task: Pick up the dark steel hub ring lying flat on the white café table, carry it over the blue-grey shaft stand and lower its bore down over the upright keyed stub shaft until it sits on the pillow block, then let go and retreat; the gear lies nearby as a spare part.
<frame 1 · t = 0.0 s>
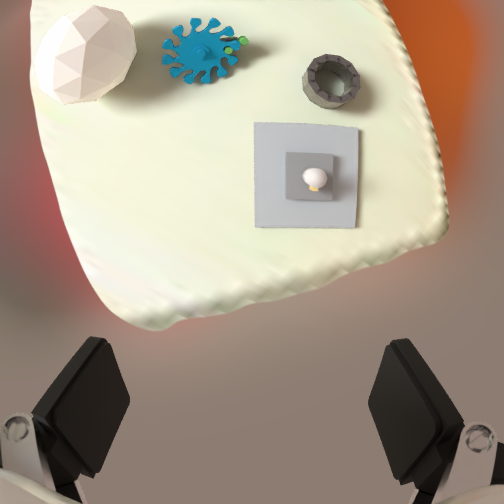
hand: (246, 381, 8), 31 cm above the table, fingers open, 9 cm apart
hub: (326, 85, 32), on the table
geometric sphere: (108, 66, 31), on the table
shaft stand: (306, 175, 36), on the table
gear: (209, 59, 32), on the table
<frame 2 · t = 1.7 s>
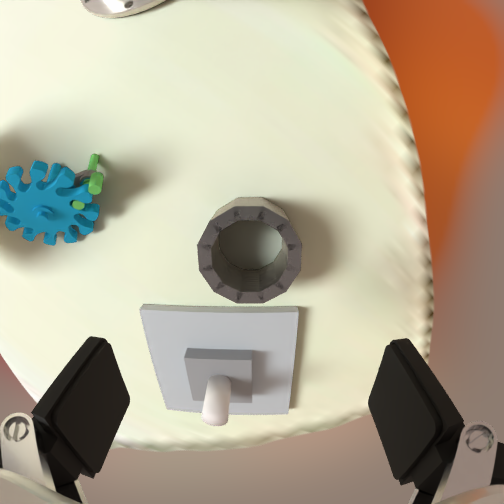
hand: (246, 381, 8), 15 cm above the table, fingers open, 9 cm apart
hub: (250, 240, 22), on the table
shaft stand: (222, 365, 27), on the table
gear: (74, 197, 21), on the table
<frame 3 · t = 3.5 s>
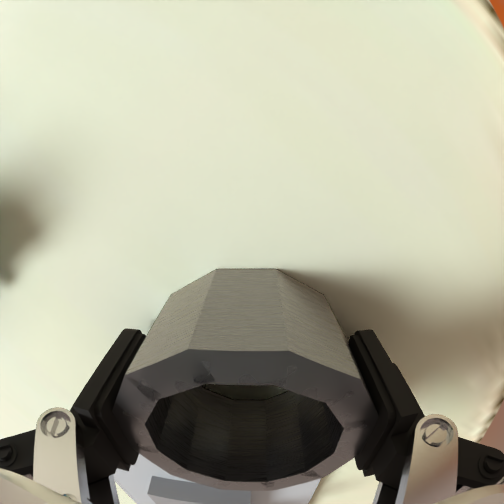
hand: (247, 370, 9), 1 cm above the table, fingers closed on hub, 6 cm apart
hub: (247, 356, 10), on the table, touching gripper
shaft stand: (207, 487, 14), on the table
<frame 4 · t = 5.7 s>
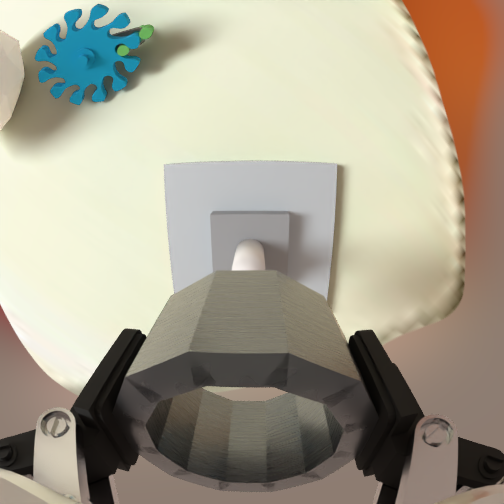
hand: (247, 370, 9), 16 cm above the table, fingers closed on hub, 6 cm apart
hub: (248, 357, 10), point 15 cm above the table, touching gripper
geometric sphere: (9, 94, 19), on the table
shaft stand: (250, 242, 24), on the table
gear: (111, 64, 19), on the table
when the fingers open (4 cm above the table, at t = 8.0 s): hub stays where it is, resting on shaft stand.
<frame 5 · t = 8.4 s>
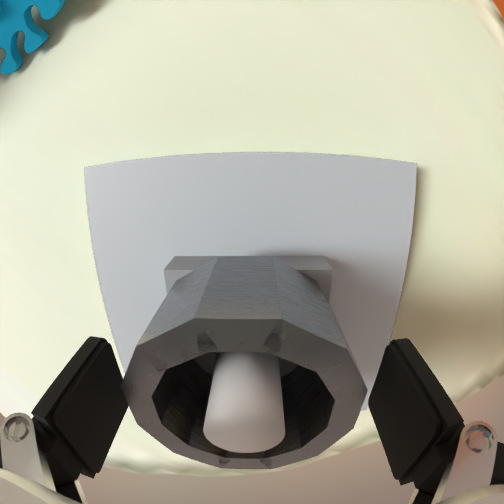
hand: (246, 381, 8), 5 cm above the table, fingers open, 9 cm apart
hub: (246, 339, 11), point 2 cm above the table, touching shaft stand
shaft stand: (250, 309, 13), on the table
gear: (37, 20, 8), on the table
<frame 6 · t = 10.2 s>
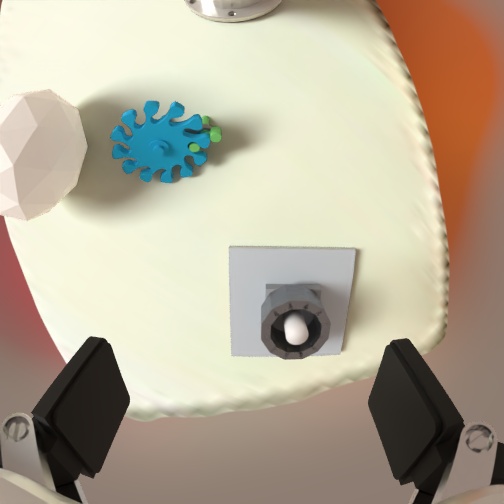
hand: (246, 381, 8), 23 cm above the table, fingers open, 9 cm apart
hub: (291, 313, 30), point 2 cm above the table, touching shaft stand
geometric sphere: (64, 154, 29), on the table
shaft stand: (290, 304, 33), on the table
gear: (176, 147, 29), on the table
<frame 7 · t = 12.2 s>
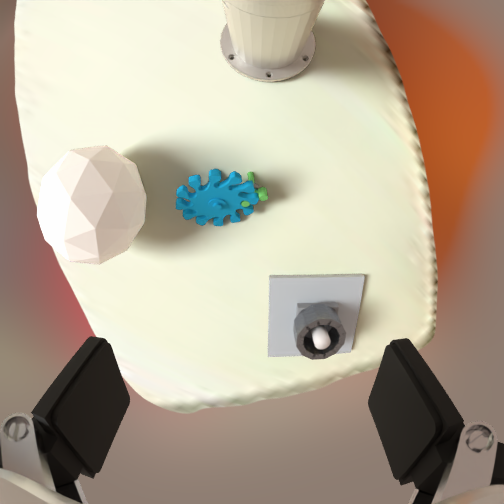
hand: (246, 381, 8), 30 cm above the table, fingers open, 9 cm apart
hub: (316, 324, 40), point 2 cm above the table, touching shaft stand
geometric sphere: (116, 196, 37), on the table
shaft stand: (313, 316, 42), on the table
gear: (224, 195, 37), on the table
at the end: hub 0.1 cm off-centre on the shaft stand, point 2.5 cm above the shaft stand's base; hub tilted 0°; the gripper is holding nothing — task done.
